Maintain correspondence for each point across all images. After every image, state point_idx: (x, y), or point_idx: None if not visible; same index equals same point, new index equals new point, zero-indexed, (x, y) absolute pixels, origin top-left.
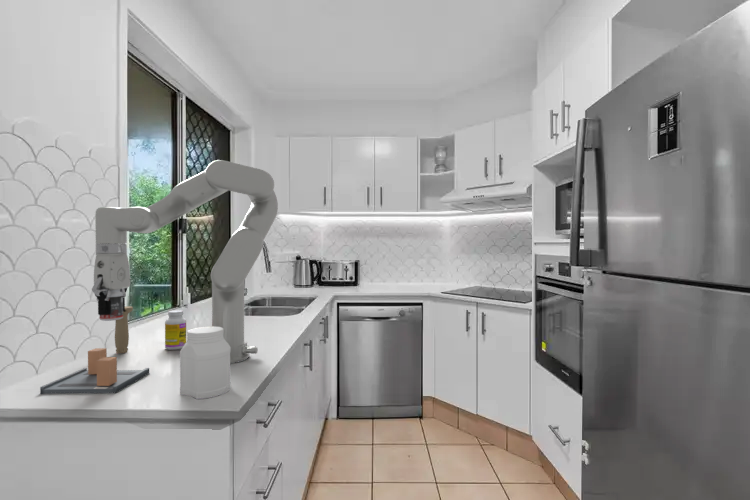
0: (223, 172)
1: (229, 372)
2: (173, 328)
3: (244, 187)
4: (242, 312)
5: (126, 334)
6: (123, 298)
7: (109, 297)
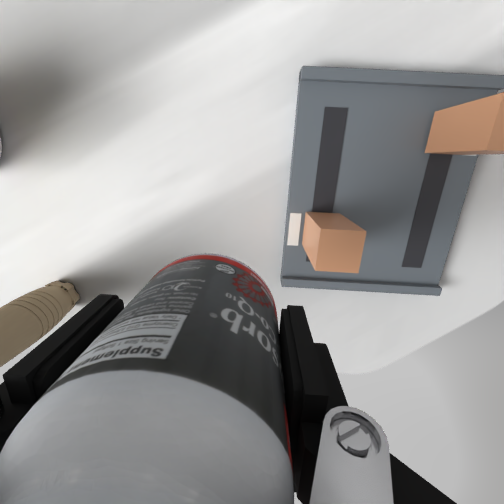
0: None
1: None
2: None
3: None
4: None
5: (16, 308)
6: (33, 370)
7: (287, 450)
